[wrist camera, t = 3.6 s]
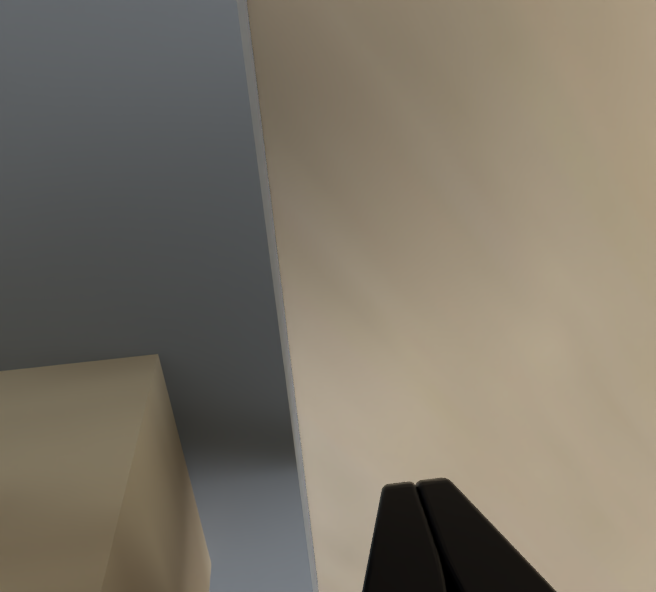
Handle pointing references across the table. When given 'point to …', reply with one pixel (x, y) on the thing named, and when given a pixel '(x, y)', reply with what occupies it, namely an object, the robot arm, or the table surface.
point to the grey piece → (158, 247)
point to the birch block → (95, 482)
